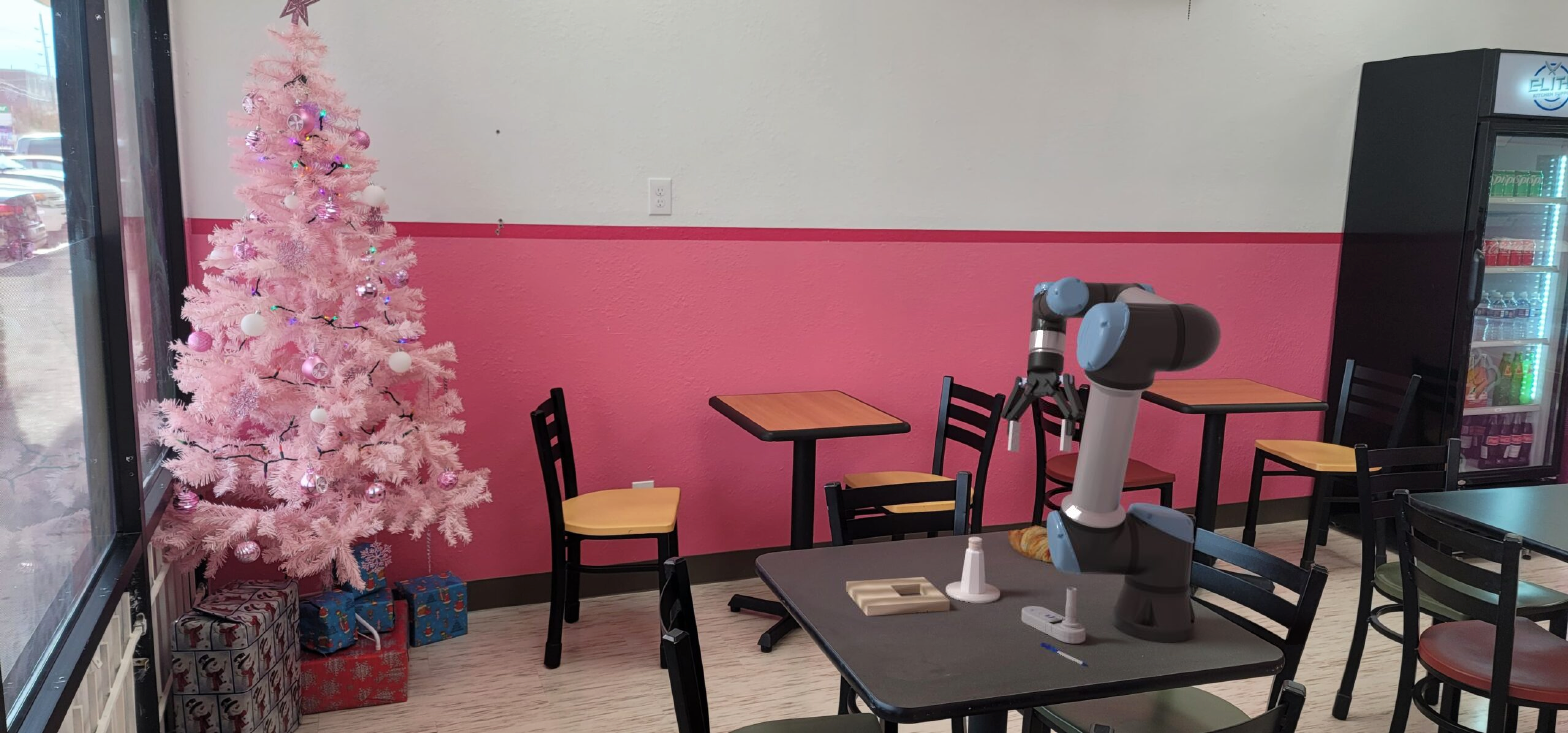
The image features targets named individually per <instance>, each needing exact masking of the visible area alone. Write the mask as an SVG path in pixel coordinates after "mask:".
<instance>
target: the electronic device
mask: <svg viewBox="0 0 1568 733" xmlns="http://www.w3.org/2000/svg"><path fill="white" fill-rule="evenodd" d="M1077 592H1078V589H1077V588H1076V587H1073V586H1072V587H1071V586H1070V587H1069V586H1068V587H1067V588H1066V603H1065V616H1063V615H1062V614H1058V613H1057V612H1054V611H1053V610H1050V609H1048V608H1045V607H1043V606H1037V605H1029V606H1028V605H1027V606H1025V607H1022V608H1021V621H1022V623H1024V624H1025V625H1028V626H1029V625H1030V627H1031V626H1032V628H1033V627H1034V629H1035V628H1036V630H1037V631H1039V632H1042V633H1043V634H1046V635H1047V634H1048V636H1050V637H1052V638H1054V639H1056V640H1057V641H1060V642H1063V643H1065V644H1066V643H1067V644H1073V645H1074V644H1082V643H1083V642H1085V641H1086V635H1087V632H1086V630H1087V629H1086V627H1085V626H1084V625H1082V624H1081V623H1080V622H1079V621H1078V620H1077V616H1078V615H1077V614H1078V605H1077V597H1078V594H1077Z"/></svg>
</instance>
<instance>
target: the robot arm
mask: <svg viewBox="0 0 1568 733" xmlns="http://www.w3.org/2000/svg"><path fill="white" fill-rule="evenodd" d="M1031 301H1032V302H1031V303H1032V307H1031V308H1032V310H1031V322H1030V323H1031V324H1030V335H1029V342H1028V343H1029V344H1028V351H1029V352H1030V353H1029V354H1028V355H1027V371H1028V375H1027V377H1022V376H1019V375H1018V376H1016V377H1015V380H1014V386H1013V388H1012V390H1011V392H1010V394H1009V396H1008V399H1007V401H1006V402H1005V405H1004V407H1003V409H1002V412H1001V413H1000V417H1001V418H1002V419H1005V420H1006V421H1007V430H1006V435H1007V436H1008V445H1007V451H1009V452H1013V453H1019V450H1020V449H1019V448H1020V436H1021V427H1022V426H1021V425H1022V423H1021V422H1020V421H1019V420H1020V419H1021V418H1022V417H1023V415H1024V414H1025V412H1026V411H1027V409H1028V408H1029V407H1030V405H1031V404H1032V403H1033V402H1034V401H1035V400H1037V399H1038V398H1045V397H1047V398H1052V399H1053V400H1054V402H1055V403H1056V404H1057V406H1058V407H1059V409H1060V411H1061V413H1063V416H1064V417H1063V419H1062V420H1061V430H1060V431H1061V432H1060V444H1059V445H1060V446H1059V451H1061V452H1065V453H1071V452H1072V440H1073V437H1074V436H1075V435H1076V427H1077V426H1076V425H1077V424H1076V423H1077V421H1078V420H1079V419H1081V418H1082V419H1083V418H1084V421H1083V422H1084V423H1083V428H1082V434H1081V440H1080V445H1079V450H1078V451H1079V452H1078V456H1077V457H1078V458H1077V463H1076V468H1075V473H1074V480H1073V484H1072V491H1071V493H1069V494H1067V495H1066V496H1064V497H1063V499H1062V501H1061V503H1060V504H1061V505H1060V509H1059V510H1055V509H1054V510H1052V511H1050V512H1049V513H1048V515H1047V518H1046V519H1047V520H1046V529H1047V538H1048V545H1049V550H1050V554H1051V558H1052V561H1053V563H1052V564H1054V565H1053V566H1054V567H1055V568H1056V570H1058V571H1059V572H1060V573H1064V574H1073V575H1078V576H1081V575H1102V576H1104V575H1106V576H1107V575H1111V576H1112V575H1113V576H1115V575H1117V576H1123V575H1124V581H1123V585H1122V588H1121V590H1120V593H1119V595H1118V597H1117V600H1116V603H1115V605H1114V607H1113V608H1112V616H1111V617H1112V618H1111V624H1112V625H1113V626H1114V627H1115V628H1116V629H1117V630H1118V631H1121V632H1122V633H1124V634H1127V635H1130V636H1132V637H1135V638H1138V639H1143V640H1146V641H1147V640H1148V641H1153V642H1161V643H1178V642H1184V641H1189V640H1191V639H1193V638H1195V636H1196V634H1197V618H1196V615H1195V611H1194V607H1193V603H1192V598H1191V596H1190V584H1191V580H1190V579H1191V571H1192V561H1193V560H1192V559H1193V549H1194V547H1193V546H1194V543H1195V540H1194V522H1193V521H1192V519H1191V518H1190V516H1188V515H1187V514H1185V513H1183V512H1181V511H1180V510H1179V511H1178V510H1176V509H1173V508H1170V507H1167V506H1162V505H1158V504H1154V503H1147V502H1135V503H1131V504H1130V505H1129V507H1128V508H1127V510H1128V512H1126V510H1125V508H1124V507H1123V505H1122V504H1121V503H1120V502H1121V498H1122V493H1123V488H1124V482H1125V479H1126V472H1127V468H1128V462H1129V459H1130V458H1129V457H1130V455H1131V454H1130V453H1131V448H1132V443H1133V438H1134V433H1135V428H1136V423H1137V419H1138V414H1139V409H1140V408H1139V407H1140V402H1141V397H1142V393H1144V392H1145V391H1147V390H1148V389H1150V388H1152V386H1153V384H1154V383H1155V382H1154V381H1155V376H1156V373H1159V372H1160V373H1161V372H1163V373H1164V372H1166V373H1167V372H1170V373H1172V372H1173V373H1174V372H1177V373H1178V372H1184V371H1185V372H1186V371H1190V370H1193V369H1195V368H1197V367H1200V366H1202V365H1203V364H1206V362H1208V361H1209V360H1210V359H1211V358H1212V357H1213V355H1214V354H1215V353H1216V352H1217V350H1218V349H1219V345H1220V344H1221V339H1222V338H1221V337H1222V333H1221V332H1222V331H1221V327H1220V323H1219V322H1218V320H1217V318H1216V317H1215V315H1214V314H1213V313H1212V312H1210V311H1209V310H1208V309H1206V308H1204V307H1203V306H1199V305H1197V304H1194V303H1189V302H1187V303H1186V302H1184V303H1183V302H1182V303H1176V302H1174V301H1171V300H1169V299H1166V298H1164V297H1161V296H1159V295H1157V294H1156V292H1155V290H1154V287H1153V286H1152V285H1150V284H1148V283H1141V282H1131V283H1129V282H1126V283H1125V282H1089V281H1084V280H1081V279H1079V278H1077V277H1075V276H1068V277H1067V276H1066V277H1063V278H1061V279H1059V280H1057V281H1044V282H1040V283H1038V284H1036V285H1035V286H1034V290H1033V297H1032V299H1031ZM1069 319H1082V320H1081V323H1080V326H1079V330H1078V334H1077V339H1076V345H1077V348H1076V359H1077V362H1078V365H1079V366H1080V368H1082V369H1083V370H1084V372H1083V374H1084V377H1085V378H1086V379H1087V380H1088V382H1089V383H1090V388H1089V393H1088V394H1089V395H1088V400H1087V406H1086V411H1085V409H1084V407H1083V404H1082V401H1081V398H1080V396H1079V394H1078V391H1077V388H1076V382H1075V380H1076V379H1075V375H1073V374H1070V373H1068V372H1065V373H1063V372H1064V368H1065V366H1064V364H1065V357H1064V354H1065V351H1066V337H1067V328H1068V326H1067V324H1068V320H1069ZM1062 373H1063V375H1062ZM1061 385H1062V386H1063V389H1064V391H1065V394H1066V397H1067V399H1066V397H1065V396H1064V392H1063V391H1062V390H1061V388H1060V386H1061Z"/></svg>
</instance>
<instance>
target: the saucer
mask: <svg viewBox="0 0 1568 733" xmlns="http://www.w3.org/2000/svg"><path fill="white" fill-rule="evenodd" d="M961 581H962V580H961ZM961 581H960V580H959V581H954V582H950V583H948V584H947V585H946V586H945V593H947V594H946V596H948V597H949V596H950V597H949V598H951V599H953V598H954V600H955V601H958V600H960V601H959V602H962V601H965V602H964V603H968V602H970V603H969V604H989V603H994V602H996V601H998V600H999V599H1000V598H1001V597H1000V596H1001V591H1000V589H999V588H997V586H994V585H991V584H989V583H986V582H985V589H986V592H985V593H981V594H968V593H966V592H963V591H961ZM993 601H994V602H993Z"/></svg>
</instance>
